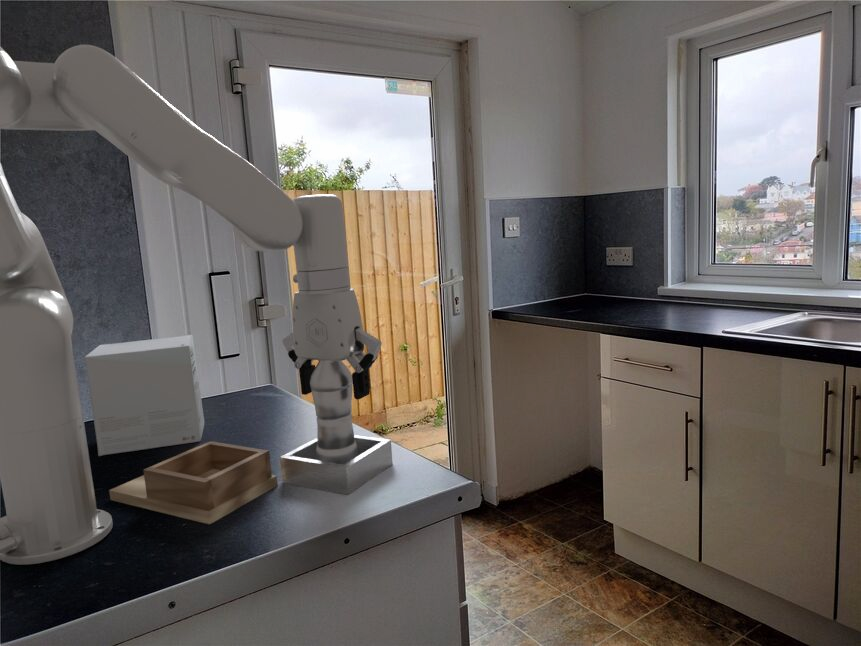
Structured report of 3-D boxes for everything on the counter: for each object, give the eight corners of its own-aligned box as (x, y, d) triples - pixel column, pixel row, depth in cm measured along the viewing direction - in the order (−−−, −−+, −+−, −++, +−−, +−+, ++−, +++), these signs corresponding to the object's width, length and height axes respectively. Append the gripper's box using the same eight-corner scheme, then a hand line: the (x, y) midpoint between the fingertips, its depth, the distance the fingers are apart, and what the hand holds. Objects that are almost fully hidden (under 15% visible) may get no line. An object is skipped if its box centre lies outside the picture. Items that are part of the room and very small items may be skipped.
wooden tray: (209, 524, 81) (204, 484, 80) (110, 499, 90) (105, 463, 89) (277, 485, 92) (274, 449, 91) (183, 467, 102) (179, 434, 101)
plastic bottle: (309, 480, 93) (297, 349, 90) (329, 463, 100) (319, 340, 96) (348, 483, 91) (338, 350, 88) (366, 466, 98) (357, 340, 95)
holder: (348, 495, 87) (346, 468, 87) (282, 482, 93) (279, 457, 92) (392, 464, 98) (390, 439, 97) (330, 454, 104) (328, 431, 103)
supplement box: (205, 421, 126) (194, 333, 123) (202, 442, 113) (190, 345, 111) (111, 434, 121) (98, 343, 118) (96, 457, 108) (82, 356, 106)
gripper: (261, 285, 92) (274, 397, 95) (358, 283, 84) (369, 406, 86) (294, 279, 98) (306, 384, 101) (387, 277, 90) (397, 391, 93)
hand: (335, 394), depth 94 cm, fingers open, 9 cm apart
